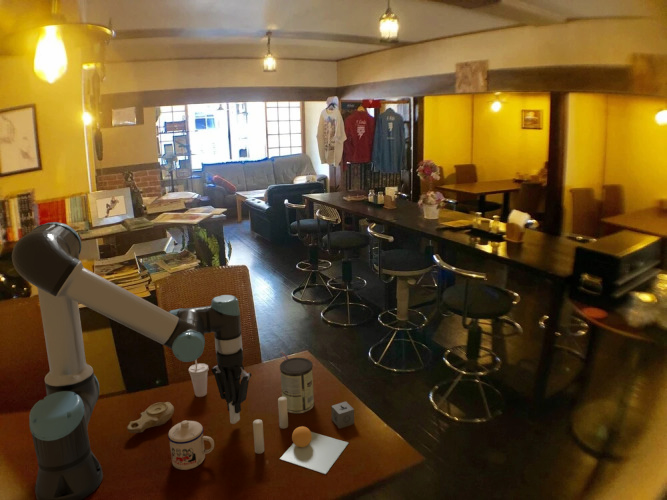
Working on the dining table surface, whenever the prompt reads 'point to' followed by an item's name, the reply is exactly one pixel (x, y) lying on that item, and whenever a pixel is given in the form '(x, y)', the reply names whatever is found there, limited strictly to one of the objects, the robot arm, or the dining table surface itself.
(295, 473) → the dining table surface
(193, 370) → the smoothie
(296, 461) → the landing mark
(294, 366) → the coffee can
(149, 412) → the oil lamp
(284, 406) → the post
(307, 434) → the ball
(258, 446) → the post
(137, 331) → the robot arm
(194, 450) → the teacup with lid
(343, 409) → the dice cube
